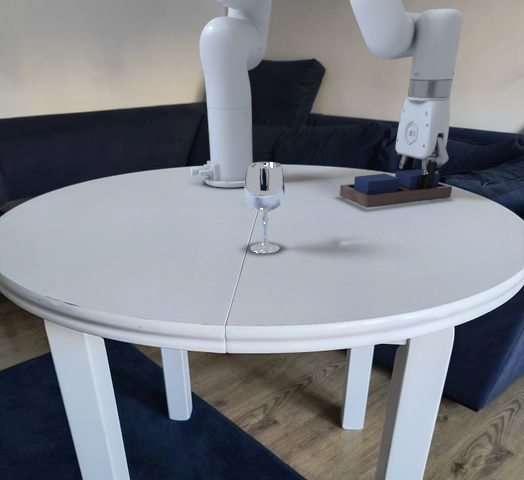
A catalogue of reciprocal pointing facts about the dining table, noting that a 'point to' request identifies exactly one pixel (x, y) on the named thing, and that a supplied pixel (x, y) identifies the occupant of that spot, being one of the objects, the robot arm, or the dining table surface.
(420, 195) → the wooden compartment tray
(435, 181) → the blue rectangular block
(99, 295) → the dining table surface
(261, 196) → the wineglass
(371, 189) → the blue block
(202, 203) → the dining table surface
